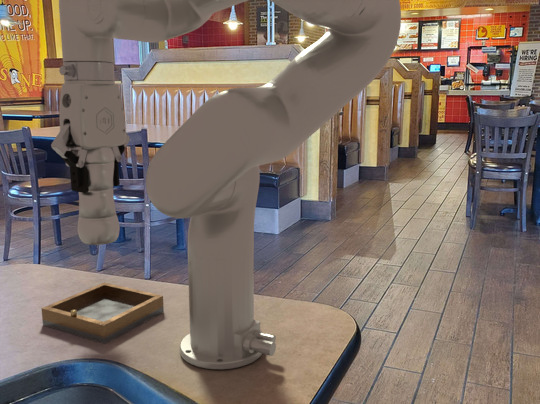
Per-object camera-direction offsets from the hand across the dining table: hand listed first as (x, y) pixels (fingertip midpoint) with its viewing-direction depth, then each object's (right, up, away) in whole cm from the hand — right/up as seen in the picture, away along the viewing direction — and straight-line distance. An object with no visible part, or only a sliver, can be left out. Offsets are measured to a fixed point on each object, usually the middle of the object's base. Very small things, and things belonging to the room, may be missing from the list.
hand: (96, 187), depth 87 cm
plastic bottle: (0, -10, +2) cm, 10 cm away
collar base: (0, -22, +5) cm, 23 cm away
